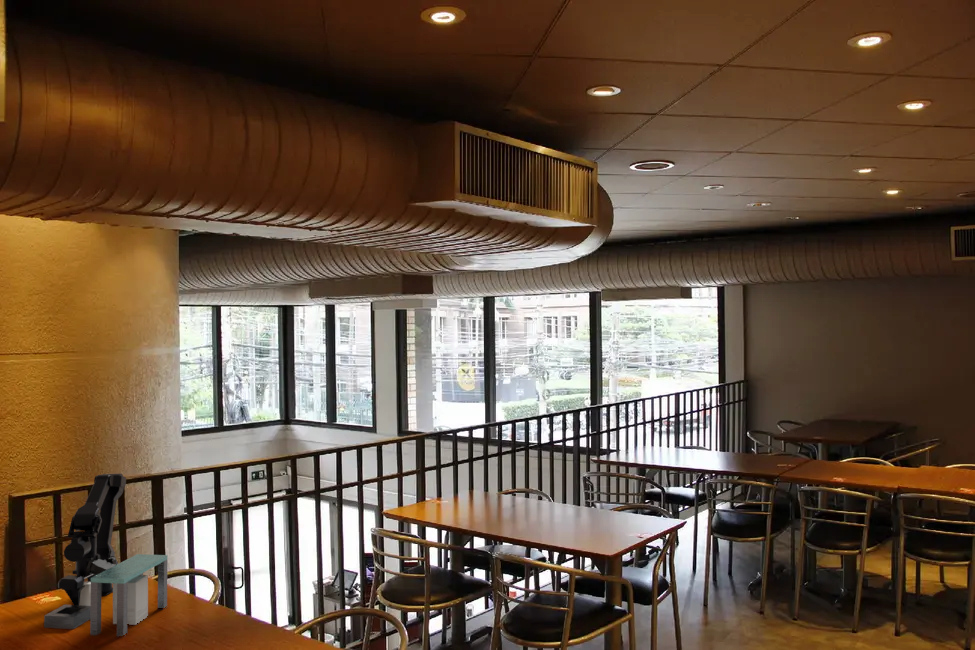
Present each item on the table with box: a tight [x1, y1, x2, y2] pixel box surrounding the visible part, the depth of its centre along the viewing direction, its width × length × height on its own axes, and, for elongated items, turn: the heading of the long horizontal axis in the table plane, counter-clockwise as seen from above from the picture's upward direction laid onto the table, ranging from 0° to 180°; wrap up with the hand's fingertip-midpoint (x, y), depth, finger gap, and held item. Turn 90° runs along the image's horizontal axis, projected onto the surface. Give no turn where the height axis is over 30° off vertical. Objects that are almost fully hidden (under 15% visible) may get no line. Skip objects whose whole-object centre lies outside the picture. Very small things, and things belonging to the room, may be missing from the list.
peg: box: [79, 580, 91, 606], centre depth 245 cm, size 4×4×8 cm
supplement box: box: [112, 574, 149, 626], centre depth 236 cm, size 7×7×13 cm
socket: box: [43, 604, 91, 630], centre depth 233 cm, size 9×9×4 cm
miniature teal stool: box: [89, 553, 169, 637], centre depth 236 cm, size 24×10×16 cm, turn 174°
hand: (85, 602), depth 245 cm, fingers open, 8 cm apart
